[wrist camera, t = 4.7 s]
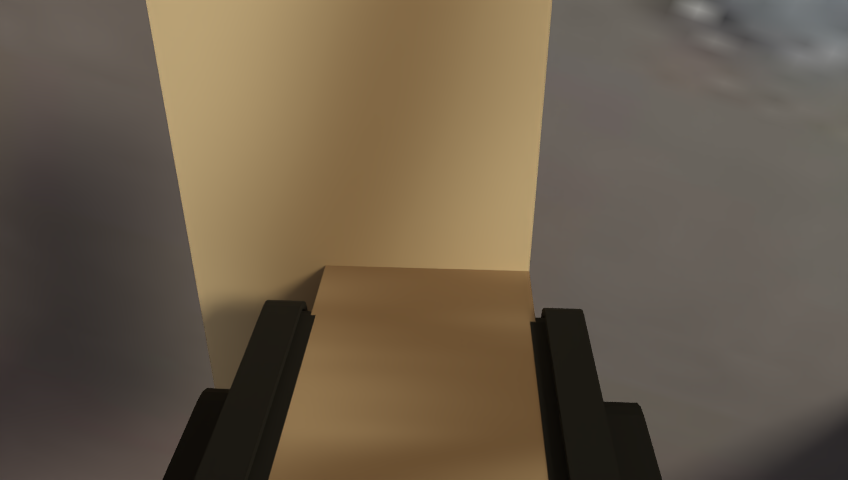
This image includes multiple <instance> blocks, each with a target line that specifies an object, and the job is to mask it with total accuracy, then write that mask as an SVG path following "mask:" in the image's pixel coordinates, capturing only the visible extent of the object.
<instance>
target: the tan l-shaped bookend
mask: <svg viewBox="0 0 848 480" xmlns="http://www.w3.org/2000/svg"><path fill="white" fill-rule="evenodd" d="M146 3H147V9H148V15H149V20H150V26H151V32H152V37H153V43H154V48H155V54H156V60H157V65H158V71H159V76H160V82H161V88H162V93H163V99H164V104H165V110H166V116H167V121H168V127H169V133H170V138H171V144H172V149H173V155H174V161H175V166H176V172H177V177H178V183H179V189H180V194H181V200H182V206H183V211H184V217H185V222H186V228H187V234H188V239H189V245H190V250H191V256H192V262H193V267H194V273H195V278H196V284H197V290H198V295H199V301H200V307H201V312H202V318H203V323H204V329H205V335H206V340H207V346H208V351H209V357H210V363H211V368H212V374H213V379H214V385H215V388H217V389H230V388H231V385H232V383H233V380H234V378H235V375H236V373H237V370H238V368H239V365H240V363H241V360H242V358H243V355H244V353H245V350H246V348H247V345H248V343H249V340H250V338H251V335H252V333H253V330H254V327H255V325H256V322H257V320H258V317H259V315H260V312H261V310H262V307H263V305H264V303H265V301H267V300H292V301H305V302H306V305H307V309H308V311H312V313H311V315H316V316H315V319H314V323H313V326H312V330H311V333H310V337H309V340H308V344H307V347H306V351H305V354H304V358H303V361H302V365H301V368H300V372H299V375H298V378H297V382H296V385H295V389H294V392H293V396H292V399H291V403H290V406H289V410H288V413H287V417H286V420H285V424H284V427H283V431H282V434H281V438H280V441H279V444H278V448H277V451H276V455H275V458H274V462H273V465H272V469H271V472H270V476H269V479H268V480H549V479H548V471H547V462H546V454H545V445H544V437H543V428H542V420H541V412H540V403H539V395H538V386H537V378H536V369H535V361H534V352H533V344H532V335H531V327H530V322H536V321H535V314H534V306H533V298H532V290H531V283H530V275H529V265H530V253H531V242H532V230H533V218H534V206H535V195H536V183H537V171H538V160H539V148H540V136H541V124H542V113H543V101H544V89H545V77H546V66H547V54H548V42H549V31H550V19H551V7H552V0H146Z"/></svg>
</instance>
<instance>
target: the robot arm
mask: <svg viewBox="0 0 848 480" xmlns="http://www.w3.org/2000/svg"><path fill="white" fill-rule="evenodd" d="M311 313H312V311H308V309H307V305H306V302H305V301H292V300H267V301H265V303H264V305H263V307H262V310H261V312H260V315H259V317H258V320H257V322H256V325H255V327H254V330H253V333H252V335H251V338H250V340H249V343H248V345H247V348H246V350H245V353H244V355H243V358H242V360H241V363H240V365H239V368H238V370H237V373H236V375H235V378H234V380H233V383H232V385H231V388H230V389H217V388H207V389H205V390H204V391H203V392H202V394H201V395H200V397H199V399H198V401H197V403H196V405H195V407H194V410H193V412H192V414H191V416H190V419H189V421H188V423H187V426H186V428H185V430H184V432H183V435H182V437H181V439H180V441H179V444H178V446H177V448H176V450H175V453H174V455H173V457H172V459H171V462H170V464H169V466H168V468H167V471H166V473H165V475H164V478H163V480H268V479H269V476H270V472H271V469H272V465H273V462H274V458H275V455H276V451H277V448H278V444H279V441H280V438H281V434H282V431H283V427H284V424H285V420H286V417H287V413H288V410H289V406H290V403H291V399H292V396H293V392H294V389H295V385H296V382H297V378H298V375H299V372H300V368H301V365H302V361H303V358H304V354H305V351H306V347H307V344H308V340H309V337H310V333H311V330H312V326H313V323H314V319H315V316H316V315H311ZM535 321H536V322H530V327H531V335H532V344H533V352H534V361H535V369H536V378H537V386H538V395H539V403H540V412H541V420H542V428H543V437H544V445H545V454H546V462H547V471H548V479H549V480H662V478H661V474H660V471H659V467H658V464H657V460H656V457H655V453H654V449H653V446H652V442H651V439H650V435H649V432H648V428H647V425H646V421H645V418H644V415H643V412H642V409H641V407H640V406H639V405H638V403H624V402H603V398H602V393H601V389H600V384H599V380H598V375H597V371H596V367H595V362H594V358H593V353H592V349H591V344H590V340H589V335H588V331H587V326H586V322H585V317H584V313H583V310H581V309H563V308H543V310H542V314H541V318H535Z"/></svg>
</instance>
